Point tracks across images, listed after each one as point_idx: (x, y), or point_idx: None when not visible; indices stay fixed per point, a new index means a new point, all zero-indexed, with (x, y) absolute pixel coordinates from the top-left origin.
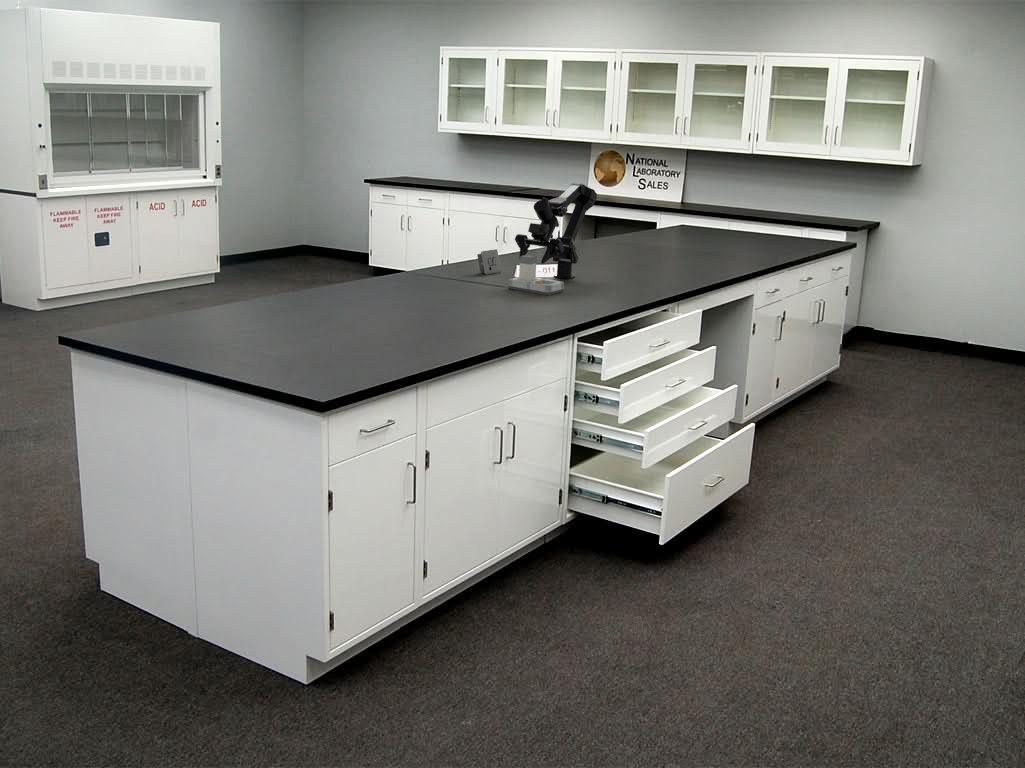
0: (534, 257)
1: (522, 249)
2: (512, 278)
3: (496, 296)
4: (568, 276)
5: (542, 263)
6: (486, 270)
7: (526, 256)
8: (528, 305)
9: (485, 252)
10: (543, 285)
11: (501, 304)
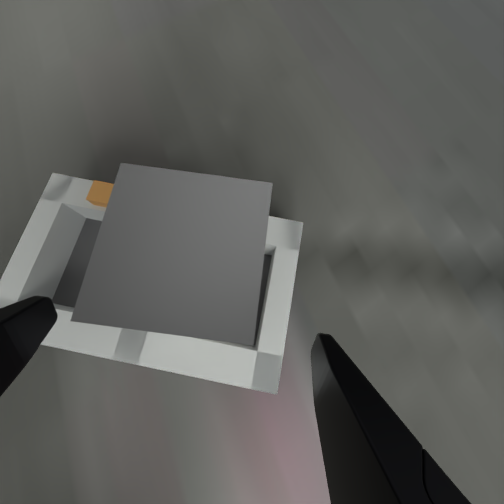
0: (96, 258)
1: (405, 495)
2: (295, 251)
3: (263, 86)
4: None
5: (44, 311)
6: None
7: (200, 220)
8: (117, 24)
9: None
10: (86, 180)
11: (199, 2)
